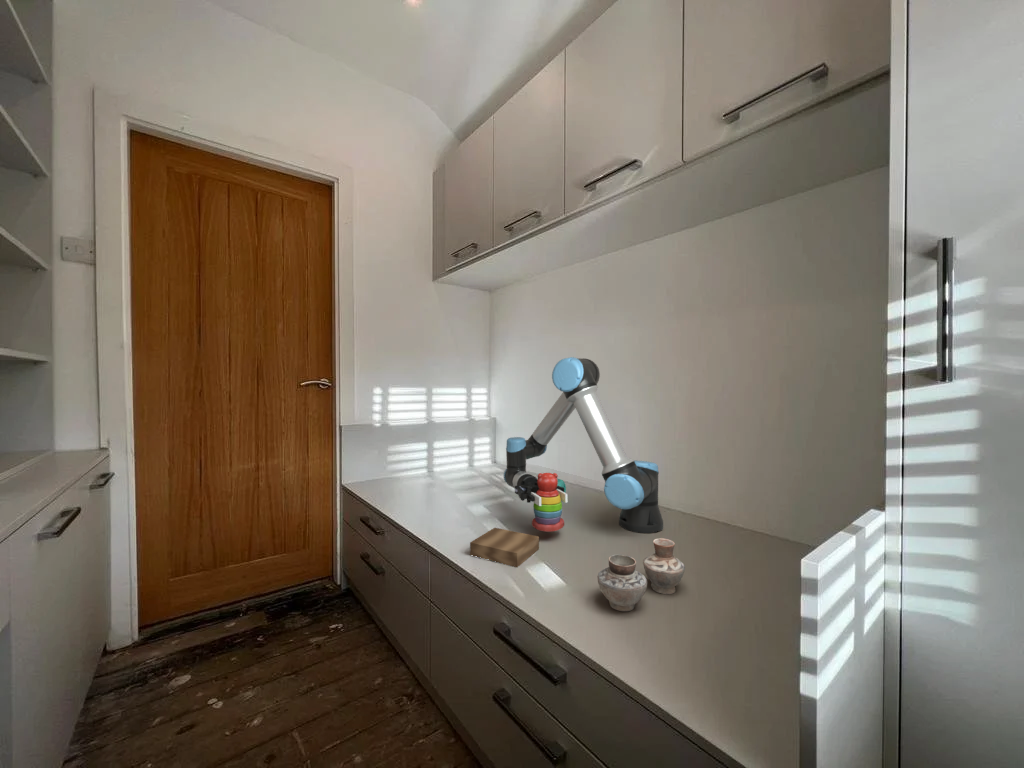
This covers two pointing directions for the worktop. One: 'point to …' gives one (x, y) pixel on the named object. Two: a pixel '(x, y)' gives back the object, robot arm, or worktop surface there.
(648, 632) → the worktop surface
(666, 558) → the pottery
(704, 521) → the worktop surface
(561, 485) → the decorative dice
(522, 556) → the plinth
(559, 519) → the stacking bear
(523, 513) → the worktop surface
